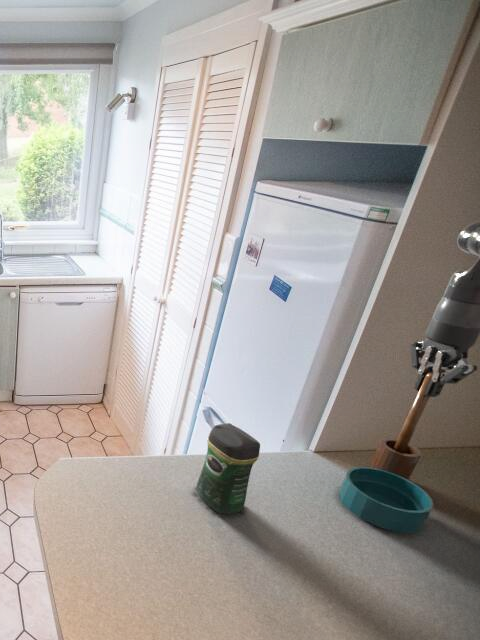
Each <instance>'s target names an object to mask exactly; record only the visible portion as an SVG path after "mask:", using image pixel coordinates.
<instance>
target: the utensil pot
mask: <svg viewBox="0 0 480 640" xmlns="http://www.w3.org/2000/svg"><path fill="white" fill-rule="evenodd" d="M397 439H398V438H391V437H385V438H384V437H383V438H381V439H380V441H379V443H378V446H377V448H376V450H375V452H374V455H373V457H372V460H371V462H370V464H369V466H368V467H371V468H376V469H381V470H384V471H388V472H391V473H394V474H396V475H398V476H401V477H403V478H405V479H407V480H409V481H410V479H411V477H412V475H413V474H414V471H415V468H416V467H417V465H418V463H419V460H420V458H421V456H422V451H421V450H420V449H419V448H418V447H416V446H415V445H413V444H411V443H409V444H408V446H407V448H406V451H405V453H400V452H397V451H395V450H393V448H394V446H395V444H396V442H397Z"/></svg>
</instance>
